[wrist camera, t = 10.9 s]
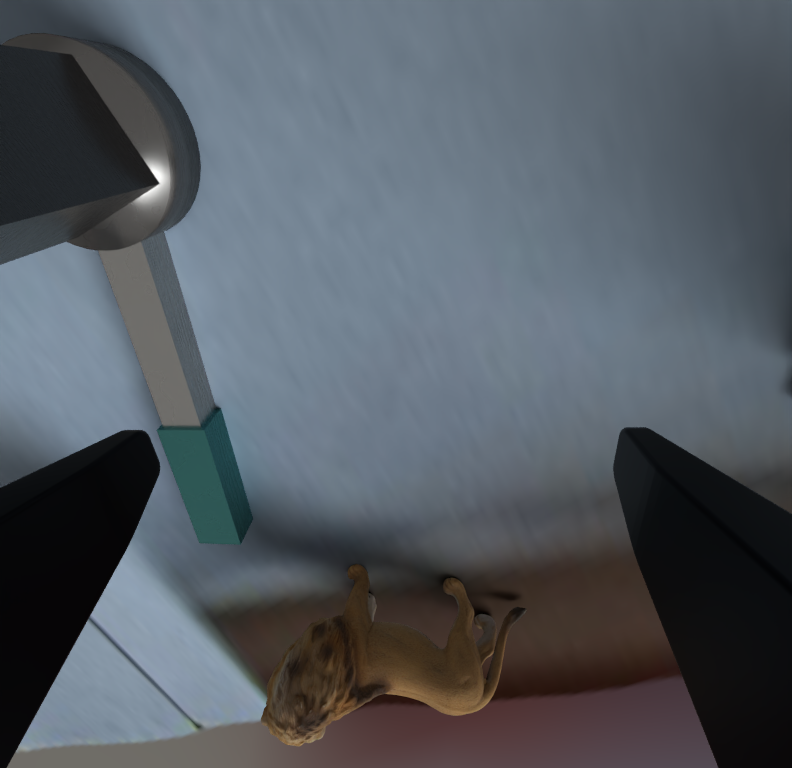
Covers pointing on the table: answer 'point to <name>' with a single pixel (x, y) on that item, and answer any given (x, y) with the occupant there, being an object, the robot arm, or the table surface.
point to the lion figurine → (381, 665)
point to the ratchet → (161, 282)
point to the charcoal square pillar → (58, 154)
